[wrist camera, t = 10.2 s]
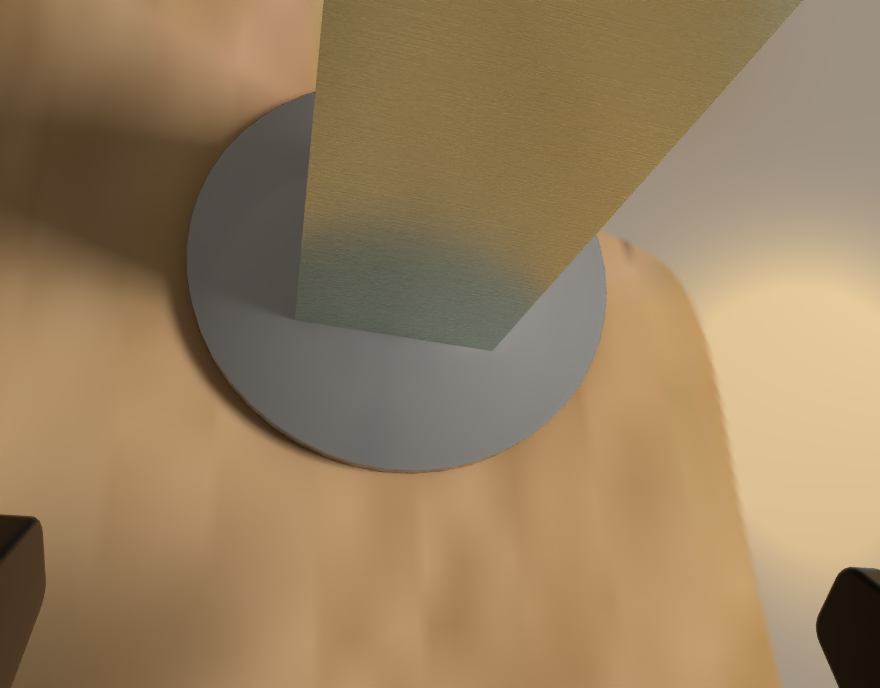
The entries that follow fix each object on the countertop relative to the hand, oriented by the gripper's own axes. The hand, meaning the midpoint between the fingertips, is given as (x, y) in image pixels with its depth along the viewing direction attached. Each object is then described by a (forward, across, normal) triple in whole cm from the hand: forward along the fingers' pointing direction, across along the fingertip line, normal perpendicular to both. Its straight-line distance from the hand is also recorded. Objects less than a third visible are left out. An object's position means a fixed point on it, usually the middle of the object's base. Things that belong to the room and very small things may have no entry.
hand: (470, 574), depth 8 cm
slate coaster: (+12, 0, 0) cm, 12 cm away
